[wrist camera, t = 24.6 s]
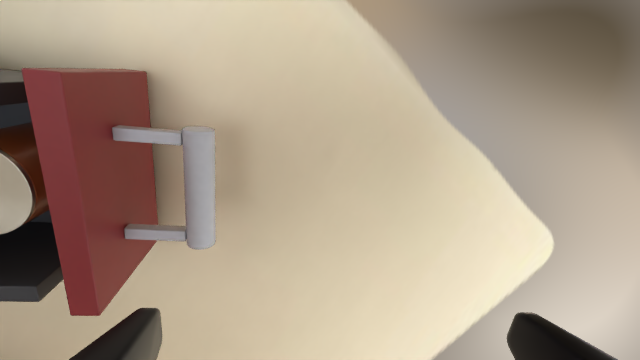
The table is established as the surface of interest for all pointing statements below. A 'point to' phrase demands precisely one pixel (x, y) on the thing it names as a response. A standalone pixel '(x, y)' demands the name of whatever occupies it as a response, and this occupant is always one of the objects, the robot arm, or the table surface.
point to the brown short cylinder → (20, 178)
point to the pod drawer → (96, 184)
